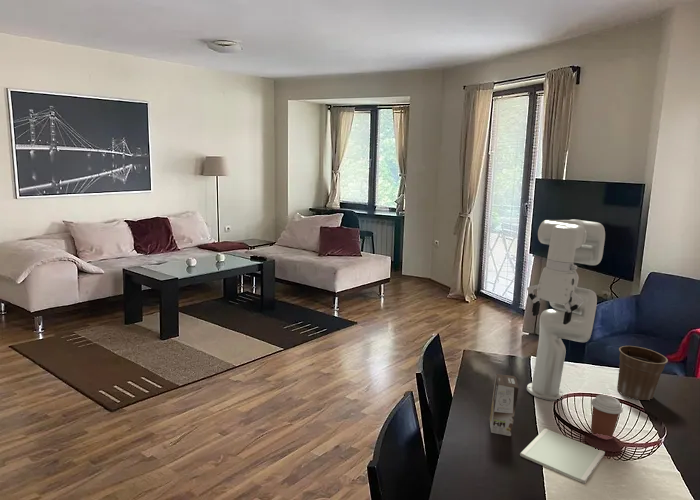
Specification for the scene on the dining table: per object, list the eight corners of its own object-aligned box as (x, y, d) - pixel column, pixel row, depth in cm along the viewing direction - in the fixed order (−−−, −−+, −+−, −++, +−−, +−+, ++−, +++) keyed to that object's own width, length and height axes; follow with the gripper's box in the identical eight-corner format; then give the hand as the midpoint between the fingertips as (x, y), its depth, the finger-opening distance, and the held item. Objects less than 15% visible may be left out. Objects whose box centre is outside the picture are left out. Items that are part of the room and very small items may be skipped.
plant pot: (667, 399, 205) (676, 358, 201) (645, 408, 195) (654, 365, 192) (625, 381, 218) (633, 343, 214) (603, 389, 209) (610, 349, 205)
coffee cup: (618, 445, 168) (625, 409, 166) (586, 437, 171) (593, 402, 169) (615, 431, 177) (622, 397, 174) (585, 424, 180) (591, 390, 177)
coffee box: (511, 436, 168) (519, 388, 165) (490, 433, 169) (497, 384, 166) (509, 422, 177) (516, 376, 173) (489, 418, 178) (495, 372, 175)
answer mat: (544, 430, 173) (545, 428, 173) (604, 454, 162) (605, 451, 162) (520, 455, 158) (520, 452, 158) (584, 483, 147) (585, 480, 147)
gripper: (592, 270, 165) (582, 324, 168) (537, 259, 176) (528, 310, 179) (583, 273, 159) (574, 329, 162) (527, 261, 170) (519, 314, 174)
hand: (550, 319), depth 171 cm, fingers open, 9 cm apart
